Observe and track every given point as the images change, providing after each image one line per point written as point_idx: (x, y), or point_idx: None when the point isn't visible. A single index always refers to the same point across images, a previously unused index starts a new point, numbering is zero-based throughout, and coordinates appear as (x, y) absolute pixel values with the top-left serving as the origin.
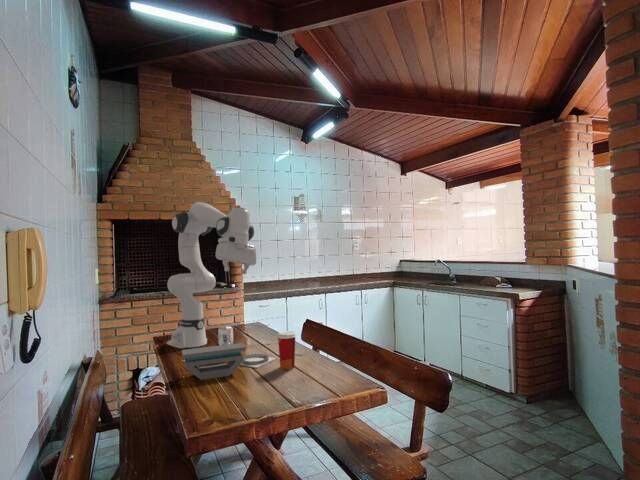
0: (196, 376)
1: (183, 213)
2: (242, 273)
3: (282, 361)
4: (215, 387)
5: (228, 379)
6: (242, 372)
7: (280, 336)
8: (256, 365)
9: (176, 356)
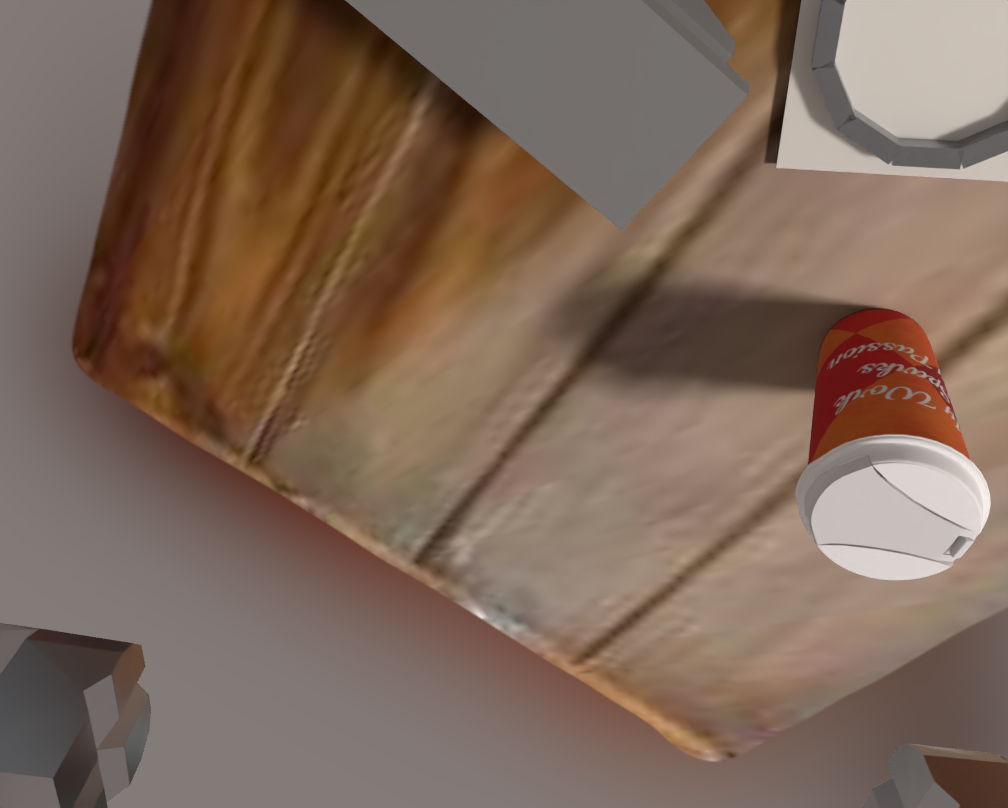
0: None
1: None
2: (894, 780)
3: (818, 374)
4: (362, 135)
5: None
6: None
7: (809, 491)
8: (815, 136)
9: None
